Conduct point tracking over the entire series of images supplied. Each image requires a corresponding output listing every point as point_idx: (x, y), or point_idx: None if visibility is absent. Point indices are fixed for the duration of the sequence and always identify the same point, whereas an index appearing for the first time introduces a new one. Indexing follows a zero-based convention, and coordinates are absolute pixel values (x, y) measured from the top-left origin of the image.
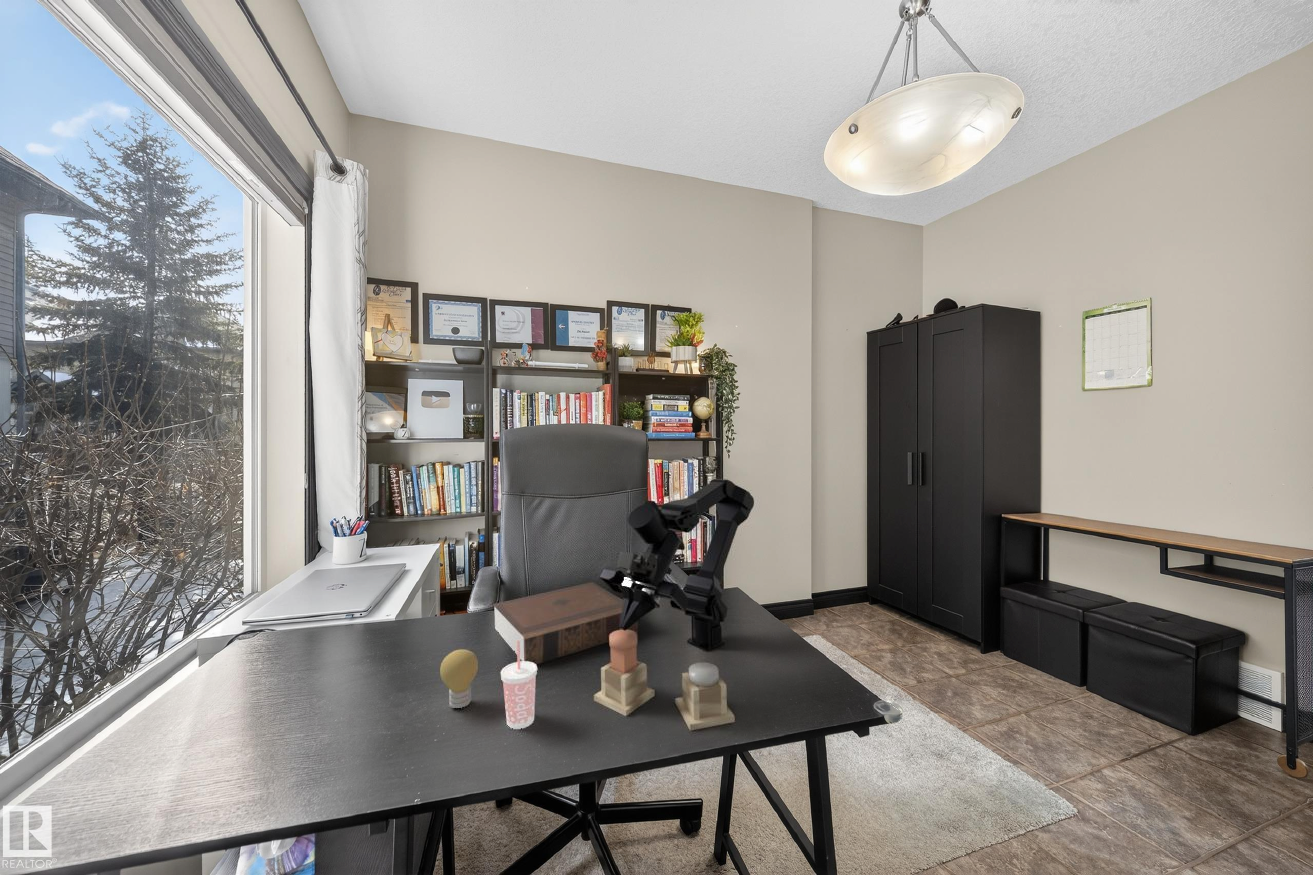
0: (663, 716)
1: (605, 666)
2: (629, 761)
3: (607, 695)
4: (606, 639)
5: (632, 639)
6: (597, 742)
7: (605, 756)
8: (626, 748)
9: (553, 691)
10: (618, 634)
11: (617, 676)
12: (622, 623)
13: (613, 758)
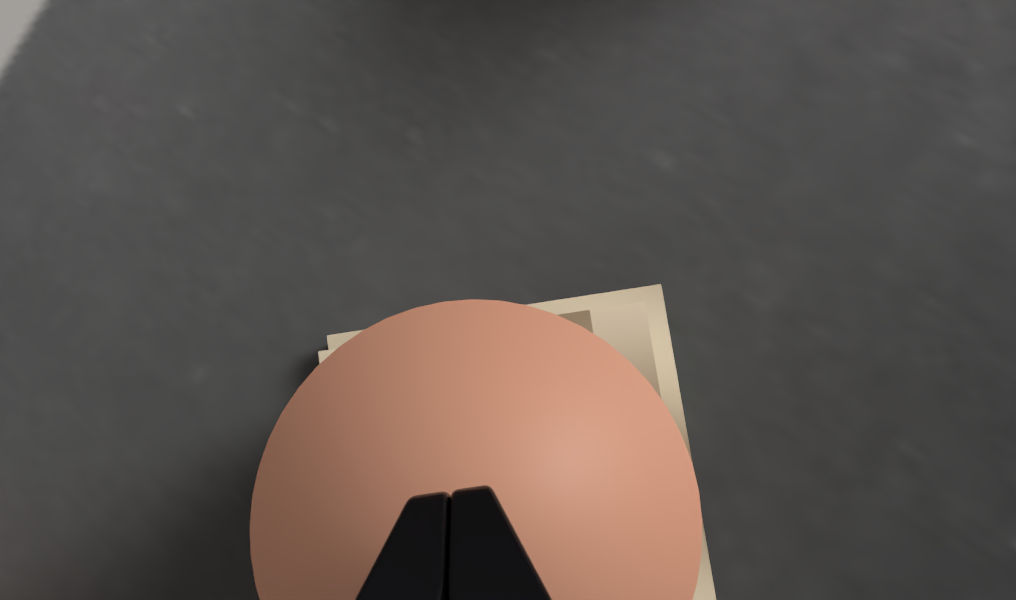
0: (145, 530)
1: (638, 354)
2: (7, 88)
3: None
4: None
5: (257, 534)
6: (266, 50)
7: (138, 15)
8: (98, 142)
9: (979, 138)
10: (557, 492)
11: None
12: (450, 534)
13: (92, 38)
